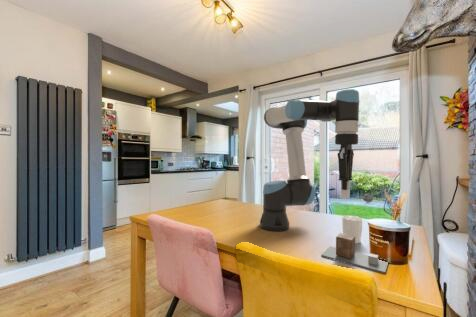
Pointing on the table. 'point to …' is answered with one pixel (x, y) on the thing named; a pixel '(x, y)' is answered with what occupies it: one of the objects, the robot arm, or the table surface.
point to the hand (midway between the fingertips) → (345, 198)
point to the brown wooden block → (345, 245)
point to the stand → (359, 260)
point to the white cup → (352, 226)
